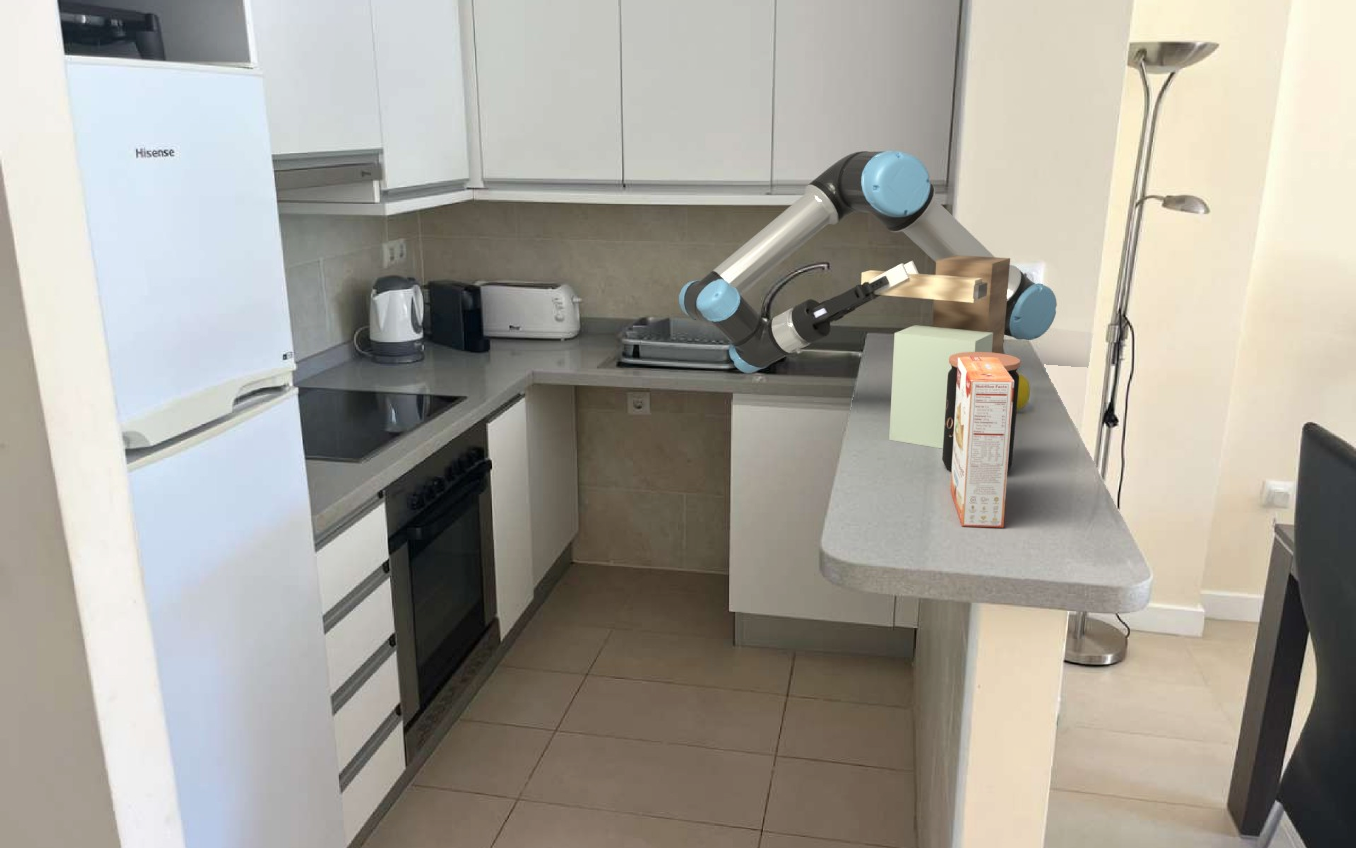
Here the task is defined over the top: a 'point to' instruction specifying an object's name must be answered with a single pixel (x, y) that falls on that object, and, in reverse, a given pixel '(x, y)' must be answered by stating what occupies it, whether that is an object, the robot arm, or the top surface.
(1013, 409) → the coffee jar
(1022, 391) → the lemon
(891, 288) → the light wooden bar
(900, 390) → the pale green rectangular prism
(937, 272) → the stand
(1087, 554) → the top surface
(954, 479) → the cracker box
